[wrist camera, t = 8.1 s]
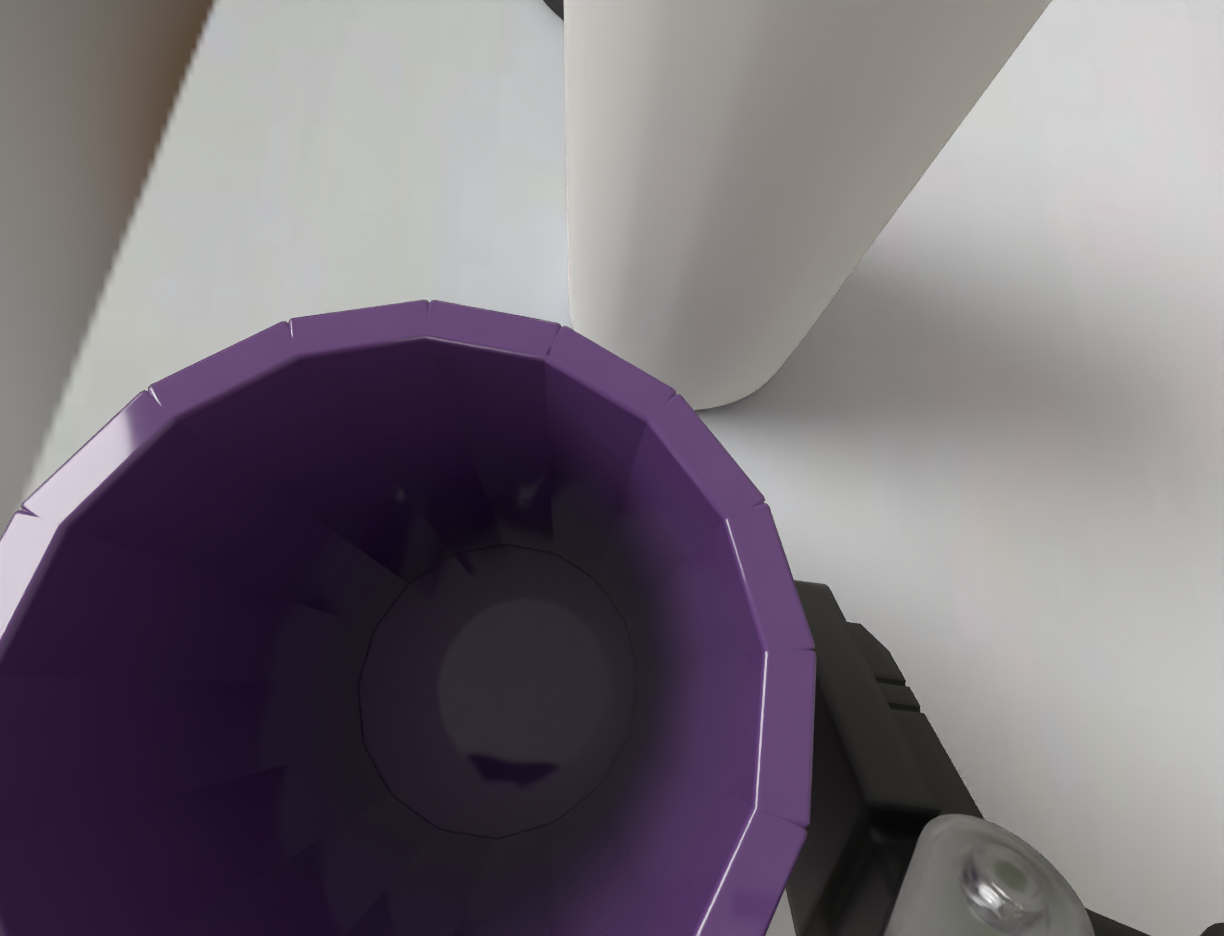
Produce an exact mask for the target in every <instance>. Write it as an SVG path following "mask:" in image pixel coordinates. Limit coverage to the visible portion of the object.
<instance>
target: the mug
mask: <svg viewBox="0 0 1224 936" xmlns="http://www.w3.org/2000/svg"><path fill="white" fill-rule="evenodd" d="M1051 1H1052V0H564V47H565V104H566V169H567V244H568V274H569V309H570V317H571V322H572V326H573V329H574V331H576V332H578V333H579V334H581V335H583V336H584V337H586V338H588V339H590V340H591V341H593V342H595V343H596V344H598V345H600V346H602V347H603V348H605V349H607V350H608V351H610V352H612V353H613V354H615V355H617V356H619V357H620V358H622V359H624V360H625V361H627V362H629V363H631V364H632V365H634V366H636V367H637V368H639V369H641V370H643V371H644V372H646V373H648V374H649V375H651V376H653V377H655V378H656V379H658V380H660V381H661V382H663V383H665V384H667V385H668V386H670V387H672V388H673V389H674V390H675V391H676V395H677V394H680V395H682V396H683V398H684V399H685V400H686V401H687V403H688V404H689V405H690V406H691V407H692V409H693V410H694V409H708V408H714V407H719V406H723V405H726V404H730V403H733V402H735V401H738V400H740V399H742V398H744V397H746V396H748V395H750V394H751V393H753V392H754V391H756V390H757V389H759V388H760V387H761V386H763V385H764V384H765V383H766V382H767V381H768V380H770V379H771V377H772V376H773V375H774V374H775V373H776V372H777V371H778V370H779V368H780V367H781V366H782V365H783V363H784V362H785V361H786V359H787V358H788V357H789V356H790V354H791V353H792V352H793V351H794V349H795V348H796V347H797V346H798V344H799V343H800V342H801V340H802V339H803V338H804V337H805V335H806V334H807V333H808V331H809V330H810V329H811V327H812V326H813V325H814V323H815V322H816V321H817V319H818V318H819V316H820V315H821V314H822V312H823V311H824V310H825V308H826V307H827V305H828V304H829V303H830V301H831V300H832V298H833V297H834V296H835V294H836V293H837V292H838V290H839V289H840V287H841V286H842V285H843V283H844V282H845V281H846V279H847V278H848V276H849V275H850V274H851V272H852V271H853V270H854V268H855V267H856V265H857V264H858V263H859V261H860V260H861V259H862V257H863V256H864V254H865V253H866V252H867V250H868V249H869V248H870V246H871V245H872V243H873V242H874V241H875V239H876V238H877V237H878V235H879V234H880V233H881V231H882V230H883V229H884V227H885V226H886V224H887V223H888V222H889V220H890V219H891V218H892V216H893V215H894V214H895V212H896V211H897V210H898V208H899V207H900V205H901V204H902V203H903V201H904V200H905V199H906V197H907V196H908V195H909V193H910V192H911V191H912V189H913V188H914V186H915V185H916V184H917V182H918V181H919V180H920V178H921V177H922V176H923V174H924V173H925V172H926V170H927V169H928V167H929V166H930V165H931V163H932V162H933V161H934V159H935V158H936V157H937V155H938V154H939V153H940V151H941V150H942V149H943V147H944V146H945V144H946V143H947V142H948V140H949V139H950V138H951V136H952V135H953V134H954V132H955V131H956V130H957V128H958V127H959V125H960V124H961V123H962V121H963V120H964V119H965V117H966V116H967V115H968V113H969V112H970V111H971V109H972V108H973V107H974V105H975V104H976V102H977V101H978V100H979V98H980V97H981V96H982V94H983V93H984V92H985V90H986V89H987V88H988V86H989V85H990V84H991V82H992V81H993V79H994V78H995V77H996V75H997V74H998V73H999V71H1000V70H1001V69H1002V67H1003V66H1004V65H1005V63H1006V62H1007V61H1008V59H1009V58H1010V56H1011V55H1012V54H1013V52H1014V51H1015V50H1016V48H1017V47H1018V46H1019V44H1020V43H1021V42H1022V40H1023V39H1024V37H1025V36H1026V35H1027V33H1028V32H1029V31H1030V29H1031V28H1032V27H1033V25H1034V24H1035V23H1036V21H1037V20H1038V19H1039V17H1040V16H1041V14H1042V13H1043V12H1044V10H1045V9H1046V8H1047V6H1048V5H1049V4H1050V2H1051Z"/></svg>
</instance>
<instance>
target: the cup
mask: <svg viewBox="0 0 1224 936" xmlns="http://www.w3.org/2000/svg"><path fill="white" fill-rule="evenodd" d="M764 502H765V498H764V496H763V495H762V494H761V492H760V491H759V490H758V489H757V487H756V486H755V485H754V484H753V483H752V481H751V480H750V479H749V478H748V476H747V475H746V474H745V473H744V471H743V470H742V469H741V468H740V467H739V465H738V464H737V463H736V462H735V460H734V459H733V458H732V457H731V455H730V454H729V453H728V452H727V451H726V449H725V448H724V447H723V446H722V444H721V443H720V442H719V441H718V439H717V438H716V437H715V436H714V435H713V433H712V432H711V431H710V430H709V428H708V427H707V426H706V425H705V423H704V422H703V421H702V420H701V419H700V417H699V416H698V415H697V414H696V412H695V411H694V410H693V409H692V407H691V406H690V405H689V404H688V403H687V401H686V400H685V399H684V398H683V396H682V395H680V394H677V395H676V391H675V390H674V389H673V388H672V387H670V386H668V385H667V384H665V383H663V382H661V381H660V380H658V379H656V378H655V377H653V376H651V375H649V374H648V373H646V372H644V371H643V370H641V369H639V368H637V367H636V366H634V365H632V364H631V363H629V362H627V361H625V360H624V359H622V358H620V357H619V356H617V355H615V354H613V353H612V352H610V351H608V350H607V349H605V348H603V347H602V346H600V345H598V344H596V343H595V342H593V341H591V340H590V339H588V338H586V337H584V336H583V335H581V334H579V333H578V332H576V331H574V330H572V329H571V328H569V327H567V326H563V327H561V325H560V324H559V323H556V322H551V321H545V320H540V319H535V318H529V317H524V316H519V315H513V314H508V313H502V312H497V311H492V310H486V309H481V308H476V307H470V306H465V305H460V304H454V303H449V302H443V301H438V300H431V302H430V303H429V301H428V300H418V301H411V302H404V303H396V304H389V305H382V306H375V307H368V308H361V309H354V310H347V311H340V312H333V313H326V314H319V315H312V316H305V317H298V318H292V319H290V320H289V323H288V322H286V321H283V322H280V323H278V324H276V325H274V326H271V327H269V328H267V329H265V330H263V331H261V332H259V333H257V334H255V335H253V336H251V337H249V338H247V339H245V340H242V341H240V342H238V343H236V344H234V345H232V346H230V347H228V348H226V349H224V350H222V351H220V352H218V353H216V354H213V355H211V356H209V357H207V358H205V359H203V360H201V361H199V362H197V363H195V364H193V365H191V366H189V367H187V368H184V369H182V370H180V371H178V372H176V373H174V374H172V375H170V376H168V377H166V378H164V379H162V380H160V381H158V382H155V383H153V384H151V385H150V386H149V387H148V391H145V390H144V391H142V392H140V393H139V394H138V395H136V396H135V397H134V398H133V399H132V400H131V401H130V402H129V403H128V404H127V405H126V406H125V407H124V408H123V409H122V410H121V411H119V412H118V413H117V414H116V415H115V416H114V417H113V418H112V419H111V420H110V421H109V422H108V423H107V424H106V425H105V426H104V427H102V428H101V429H100V430H99V431H98V432H97V433H96V434H95V435H94V436H93V437H92V438H91V439H90V440H89V441H88V442H86V443H85V444H84V445H83V446H82V447H81V448H80V449H79V450H78V451H77V452H76V453H75V454H74V455H73V456H72V457H71V458H69V459H68V460H67V461H66V462H65V463H64V464H63V465H62V466H61V467H60V468H59V469H58V470H57V471H56V472H55V473H53V474H52V475H51V476H50V477H49V478H48V479H47V480H46V481H45V482H44V483H43V484H42V485H41V486H40V487H39V488H38V489H36V490H35V491H34V492H33V493H32V494H31V495H30V496H29V497H28V498H27V499H26V500H25V501H24V502H23V503H22V505H21V508H22V509H23V510H19V511H16V512H15V513H14V514H13V516H12V518H11V520H10V522H9V523H8V525H7V527H6V529H5V531H4V533H3V534H2V536H1V538H0V936H765V934H766V932H767V930H768V927H769V925H770V923H771V920H772V918H773V915H774V913H775V911H776V908H777V906H778V904H779V901H780V899H781V897H782V894H783V892H784V889H785V887H786V885H787V882H788V880H789V878H790V875H791V873H792V870H793V868H794V866H795V863H796V861H797V859H798V856H799V854H800V852H801V849H802V847H803V844H804V842H805V840H806V837H807V830H806V829H805V827H808V826H809V823H810V811H811V785H812V760H813V734H814V709H815V684H816V658H817V657H816V653H815V652H814V651H813V649H814V648H815V643H814V640H813V637H812V634H811V631H810V628H809V625H808V622H807V619H806V616H805V613H804V610H803V607H802V604H801V601H800V598H799V595H798V592H797V589H796V586H795V583H794V580H793V577H792V574H791V571H790V568H789V565H788V562H787V559H786V556H785V553H784V550H783V546H782V543H781V540H780V537H779V534H778V531H777V528H776V525H775V522H774V519H773V516H772V513H771V510H770V507H769V506H768V504H766V503H764Z"/></svg>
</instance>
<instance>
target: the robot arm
mask: <svg viewBox="0 0 1224 936" xmlns="http://www.w3.org/2000/svg"><path fill="white" fill-rule="evenodd" d="M794 583H795V586H796V589H797V592H798V595H799V598H800V601H801V604H802V607H803V610H804V613H805V616H806V619H807V622H808V625H809V628H810V631H811V634H812V637H813V640H814V643H815V648H814V649H813V651H814V652H815V653H816V657H817V658H816V684H815V709H814V734H813V760H812V785H811V811H810V823H809V826H808V827H805V829H806V830H807V837H806V840H805V842H804V844H803V847H802V849H801V852H800V854H799V856H798V859H797V861H796V863H795V866H794V868H793V870H792V873H791V875H790V878H789V880H788V882H787V885H786V887H785V888H786V892H787V897H788V901H789V906H790V910H791V915H792V919H793V924H794V928H795V933H796V936H1150V935H1147V934H1145V933H1143V932H1140V931H1138V930H1135V929H1133V928H1131V927H1128V926H1126V925H1124V924H1121V923H1119V922H1116V921H1114V920H1112V919H1109V918H1107V917H1104V916H1102V915H1100V914H1097V913H1095V912H1093V911H1091V910H1088V909H1086V908H1085V907H1084V906H1083V904H1082V903H1081V901H1080V899H1079V898H1078V896H1077V894H1076V893H1075V891H1074V890H1073V889H1072V887H1071V886H1070V885H1069V883H1068V882H1067V881H1066V879H1065V878H1064V877H1063V876H1062V875H1061V874H1060V873H1059V872H1058V870H1057V869H1056V868H1055V867H1054V866H1053V865H1052V864H1051V863H1050V862H1049V861H1048V860H1047V859H1046V858H1044V857H1043V856H1042V855H1041V854H1040V853H1039V852H1038V851H1036V850H1035V849H1034V848H1033V847H1031V846H1030V845H1029V844H1028V843H1026V842H1025V841H1023V840H1022V839H1020V838H1019V837H1017V836H1016V835H1014V834H1013V833H1011V832H1009V831H1007V830H1006V829H1004V828H1002V827H1000V826H998V825H996V824H994V823H991V822H989V821H987V820H984V818H983V816H982V815H981V813H980V811H979V809H978V807H977V806H976V804H975V802H974V800H973V799H972V797H971V795H970V793H969V792H968V790H967V788H966V786H965V785H964V783H963V781H962V779H961V777H960V776H959V774H958V772H957V770H956V769H955V767H954V765H953V763H952V762H951V760H950V758H949V756H948V755H947V753H946V751H945V749H944V747H943V746H942V744H941V742H940V740H939V739H938V737H937V735H936V733H935V732H934V730H933V728H932V726H931V724H930V723H929V721H928V719H927V717H926V716H925V714H924V713H920V705H919V703H918V702H917V700H916V698H915V696H914V694H913V693H912V691H911V689H910V687H906V685H905V682H906V680H905V679H904V677H903V675H902V673H901V672H900V670H899V668H898V666H897V664H896V663H895V661H894V659H893V657H892V656H891V654H890V652H889V651H888V650H887V649H886V648H885V647H884V646H883V645H882V644H881V643H880V642H879V641H878V640H877V639H876V638H875V637H874V636H873V635H872V634H871V633H869V632H868V631H867V630H866V629H865V628H864V627H863V626H862V625H861V624H858V623H850V622H846V620H845V618H844V616H843V614H842V612H841V610H840V608H839V606H838V604H837V602H836V600H835V598H834V596H833V594H832V592H831V590H830V588H829V587H828V586H827V585H825V584H819V583H812V582H805V581H797V580H794ZM1200 936H1224V923H1217V924H1214V925H1212V926H1210V927H1208V928H1207V929H1206V930H1205V931H1204V932H1203V933H1202V934H1201V935H1200Z"/></svg>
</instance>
